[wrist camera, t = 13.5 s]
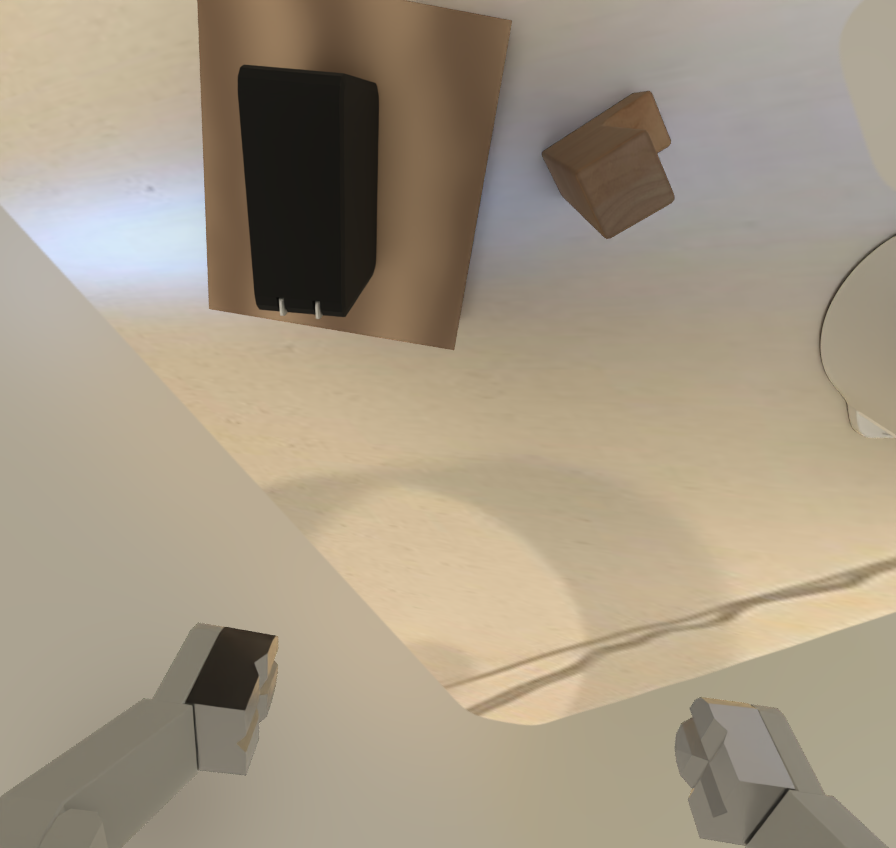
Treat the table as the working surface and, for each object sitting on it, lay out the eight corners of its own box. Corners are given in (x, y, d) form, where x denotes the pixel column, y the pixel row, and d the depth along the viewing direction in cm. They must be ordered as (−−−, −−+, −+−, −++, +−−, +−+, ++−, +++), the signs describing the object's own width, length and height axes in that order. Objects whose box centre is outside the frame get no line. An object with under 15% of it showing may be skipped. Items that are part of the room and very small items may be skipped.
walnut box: (506, 35, 35) (512, 20, 29) (456, 321, 43) (454, 349, 38) (239, -16, 34) (196, -40, 29) (242, 284, 43) (209, 308, 37)
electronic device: (380, 84, 31) (341, 71, 22) (377, 271, 36) (343, 323, 27) (302, 77, 31) (232, 62, 22) (309, 265, 36) (254, 315, 27)
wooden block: (562, 198, 39) (606, 241, 26) (540, 152, 38) (573, 173, 24) (656, 141, 37) (755, 156, 24) (635, 91, 36) (727, 77, 22)
